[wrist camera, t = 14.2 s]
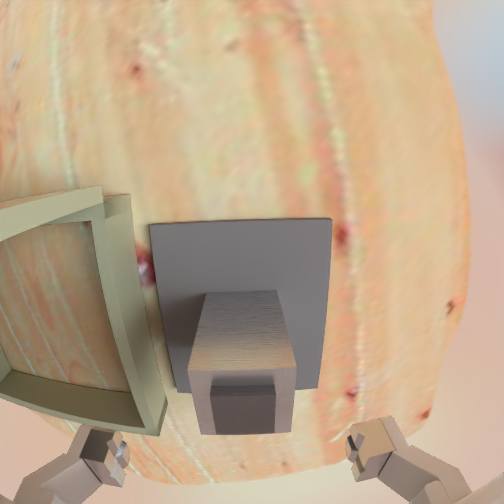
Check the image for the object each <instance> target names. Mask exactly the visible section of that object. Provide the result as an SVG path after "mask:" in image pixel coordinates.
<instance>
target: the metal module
mask: <svg viewBox="0 0 504 504" xmlns="http://www.w3.org/2000/svg"><path fill="white" fill-rule="evenodd" d="M296 370H297V366H296V362H295V358H294V354H293V350H292V346H291V342H290V339H289V335H288V331H287V327H286V323H285V319H284V315H283V312H282V308H281V304H280V300H279V296H278V292H277V290H269V291H240V292H207V294H206V297H205V301H204V305H203V309H202V313H201V317H200V321H199V325H198V329H197V333H196V337H195V341H194V345H193V349H192V353H191V357H190V361H189V365H188V369H187V371H188V376H189V381H190V386H191V391H192V396H193V401H194V405H195V410H196V414H197V419H198V423H199V428H200V432H201V434H206V435H251V434H272V433H285V432H291V424H292V415H293V405H294V394H295V383H296Z"/></svg>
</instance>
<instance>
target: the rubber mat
mask: <svg viewBox="0 0 504 504" xmlns="http://www.w3.org/2000/svg"><path fill="white" fill-rule="evenodd" d="M150 235H151V244H152V253H153V261H154V269H155V276H156V283H157V290H158V296H159V302H160V309H161V314H162V320H163V326H164V331H165V336H166V341H167V346H168V351H169V356H170V361H171V366H172V370H173V375H174V379H175V383H176V387H177V392H180V393H192V391H191V386H190V381H189V376H188V371H187V369H188V365H189V361H190V357H191V353H192V349H193V345H194V341H195V337H196V333H197V329H198V325H199V321H200V317H201V313H202V309H203V305H204V301H205V297H206V294H207V292H240V291H269V290H277V292H278V296H279V300H280V304H281V308H282V312H283V315H284V319H285V323H286V327H287V331H288V335H289V339H290V342H291V346H292V350H293V354H294V358H295V362H296V366H297V370H296V383H295V390H303V389H313V388H318V381H319V374H320V366H321V358H322V350H323V342H324V333H325V323H326V313H327V302H328V289H329V276H330V260H331V241H332V219H331V218H292V219H251V220H221V221H197V222H176V223H157V224H151V225H150Z"/></svg>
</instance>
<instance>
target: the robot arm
mask: <svg viewBox="0 0 504 504" xmlns="http://www.w3.org/2000/svg"><path fill="white" fill-rule="evenodd" d="M349 431H350V433H351V435H350V436H348V437H347V440H346V448H345V449H346V455H347V458H348V460H349V461H351V462H353V463H354V464H353V466H352V468H351V469H352V472H353V475H354V478H355V481H356V482H359V481H363V480H367V479H372V478H375V477H378V479H379V480H380V481H382V482H383V483H384V484H386V485H387V486H388V487H390V488H391V489H392V490H394V491H395V492H396V493H398V494H399V495H400V496H402V497H403V498H405V499H406V500H407V501H409V502H410V503H409V504H504V472H503V473H501V474H500V475H499V476H497V477H496V478H494V479H493V480H491V481H490V482H488V483H487V484H485V485H484V486H482V487H480V488H479V489H477V490H476V491H474V492H471V490H470V488H469V487H468V484H467V483H466V481H465V479H464V477H463V476H462V474H461V472H460V471H459V469H458V468H456V467H454V466H452V465H450V464H448V463H446V462H444V461H442V460H440V459H438V458H436V457H434V456H432V455H430V454H428V453H426V452H424V451H422V450H420V449H418V448H417V447H415V446H413V445H412V446H409V445H408V444H407V441H406V440H405V438H404V436H403V434H402V432H401V430H400V429H399V427H398V425H397V423H396V421H395V420H394V418H393V417H392V416H387V417H383V418H379V419H374V420H369V421H365V422H361V423H357V424H353V425H352V426H351V427H350V430H349ZM122 438H123V436H122V434H121V432H120V431H117V430H111V429H106V428H101V427H96V426H91V425H86V424H82V425H81V426H80V427H79V429H78V431H77V433H76V435H75V437H74V440H73V442H72V444H71V446H70V448H69V451H68V453H67V454H62V455H61V456H59V457H57V458H56V459H54V460H53V461H51V462H49V463H48V464H46V465H44V466H43V467H41V468H40V469H38V470H36V471H35V472H33V473H31V474H30V475H28V476H26V477H25V478H24V479H23V481H22V483H21V485H20V487H19V489H18V491H17V494H16V496H15V498H14V500H13V501H11V500H9V499H7V498H6V497H4V496H2V495H1V494H0V504H81V503H82V502H83V501H85V500H86V499H87V498H88V497H89V496H90V495H91V494H93V493H94V492H95V491H96V490H97V489H98V488H99V487H100V486H101V485H102V484H107V485H112V486H117V487H122V486H123V482H124V479H125V475H126V474H125V472H124V470H123V469H124V468H125V467H126V466H128V464H129V460H130V451H129V447H128V445H127V443H125V442H124V441H123V440H122Z"/></svg>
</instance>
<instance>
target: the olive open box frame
mask: <svg viewBox="0 0 504 504" xmlns="http://www.w3.org/2000/svg"><path fill="white" fill-rule="evenodd" d="M81 221H91V224H92V232H93V239H94V246H95V252H96V258H97V264H98V269H99V274H100V280H101V285H102V289H103V294H104V299H105V303H106V307H107V311H108V316H109V320H110V323H111V327H112V331H113V335H114V338H115V342H116V345H117V349H118V352H119V356H120V359H121V362H122V365H123V368H124V372H125V375H126V378H127V381H128V383H129V386H130V389H131V392H132V393H124V392H116V391H109V390H102V389H95V388H89V387H83V386H78V385H73V384H67V383H62V382H58V381H53V380H49V379H44V378H40V377H36V376H32V375H28V374H25V373H21V372H17V371H14V370H12V369H11V367H10V365H9V363H8V361H7V359H6V356H5V354H4V352H3V349H2V347H1V345H0V398H2V399H5V400H7V401H10V402H13V403H15V404H18V405H21V406H24V407H26V408H29V409H32V410H35V411H38V412H42V413H45V414H48V415H52V416H55V417H59V418H62V419H66V420H70V421H74V422H78V423H82V424H87V425H91V426H96V427H101V428H106V429H111V430H117V431H123V432H129V433H136V434H143V435H151V436H159V435H160V431H161V427H162V424H163V420H164V416H165V412H166V408H167V405H168V402H167V399H166V395H165V392H164V388H163V384H162V381H161V377H160V373H159V369H158V365H157V361H156V357H155V352H154V348H153V344H152V339H151V335H150V330H149V325H148V320H147V315H146V310H145V305H144V299H143V293H142V288H141V282H140V275H139V269H138V262H137V255H136V247H135V239H134V231H133V221H132V211H131V200H130V194H124V195H114V196H105V197H103V192H102V185H98V186H91V187H83V188H77V189H70V190H64V191H57V192H51V193H46V194H40V195H35V196H29V197H24V198H19V199H14V200H9V201H5V202H0V242H1V241H3V240H5V239H7V238H10V237H12V236H14V235H17V234H19V233H21V232H24V231H26V230H29V229H31V228H34V227H36V226H41V225H50V224H60V223H70V222H81Z"/></svg>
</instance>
